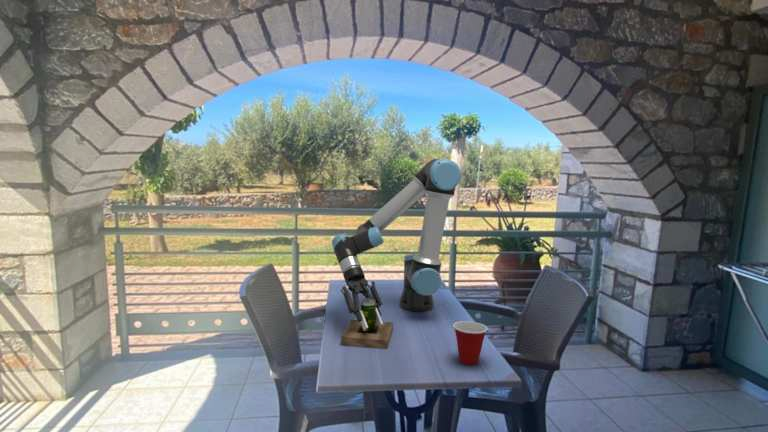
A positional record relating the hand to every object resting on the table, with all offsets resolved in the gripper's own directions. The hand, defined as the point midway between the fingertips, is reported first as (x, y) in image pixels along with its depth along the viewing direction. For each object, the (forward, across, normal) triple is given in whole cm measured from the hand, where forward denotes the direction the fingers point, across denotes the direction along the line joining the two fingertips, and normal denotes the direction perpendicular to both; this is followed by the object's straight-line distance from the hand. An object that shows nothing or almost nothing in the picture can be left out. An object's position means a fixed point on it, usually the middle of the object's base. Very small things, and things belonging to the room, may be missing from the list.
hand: (373, 327), depth 147 cm
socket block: (+1, 0, -6) cm, 6 cm away
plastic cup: (+24, -19, +16) cm, 34 cm away
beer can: (0, 0, -5) cm, 5 cm away
